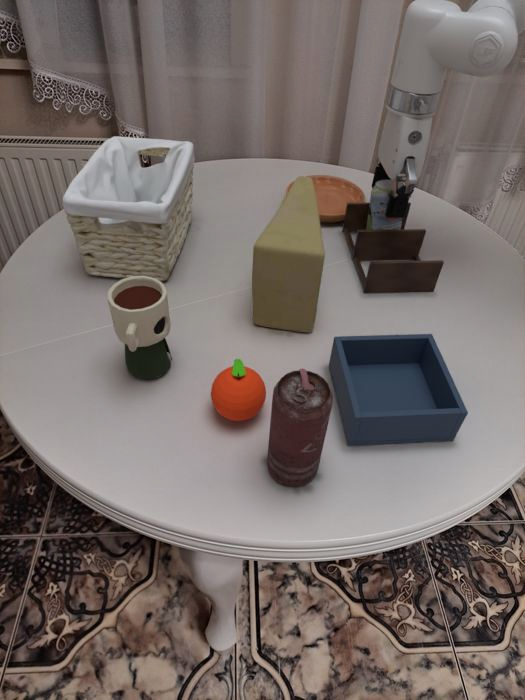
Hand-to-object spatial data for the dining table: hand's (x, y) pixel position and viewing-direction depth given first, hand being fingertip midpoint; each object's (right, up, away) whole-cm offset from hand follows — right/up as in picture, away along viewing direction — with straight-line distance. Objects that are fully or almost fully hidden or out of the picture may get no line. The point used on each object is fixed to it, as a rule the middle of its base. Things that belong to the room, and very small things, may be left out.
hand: (386, 202), depth 89 cm
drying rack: (0, -10, +3) cm, 10 cm away
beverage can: (0, -6, +6) cm, 9 cm away
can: (-18, -40, -28) cm, 52 cm away
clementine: (-25, -33, -22) cm, 47 cm away
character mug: (-38, -28, -18) cm, 50 cm away
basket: (-43, -7, +3) cm, 44 cm away
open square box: (-5, -33, -20) cm, 39 cm away
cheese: (-17, -15, -4) cm, 23 cm away
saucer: (-9, +3, +15) cm, 18 cm away
